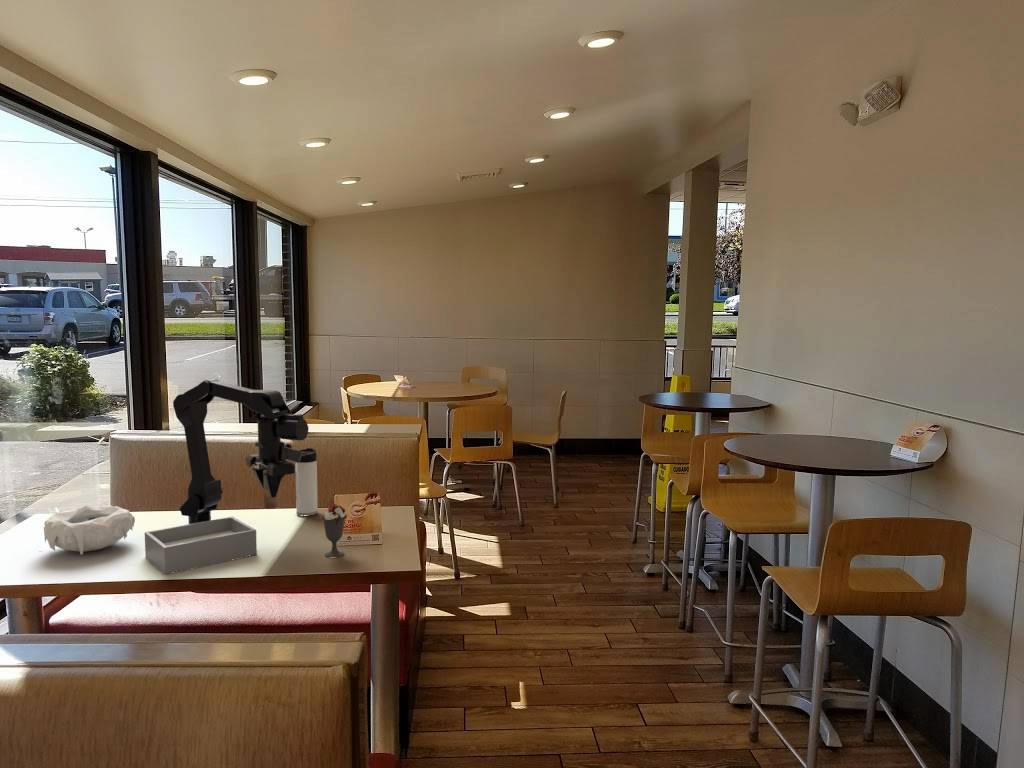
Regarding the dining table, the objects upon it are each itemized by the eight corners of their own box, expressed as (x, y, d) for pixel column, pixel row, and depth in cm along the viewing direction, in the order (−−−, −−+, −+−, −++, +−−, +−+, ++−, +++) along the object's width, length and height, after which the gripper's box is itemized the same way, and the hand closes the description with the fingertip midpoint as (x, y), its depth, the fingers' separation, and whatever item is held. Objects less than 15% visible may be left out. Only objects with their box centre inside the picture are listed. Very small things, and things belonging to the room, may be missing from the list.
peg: (262, 506, 193) (261, 470, 192) (274, 504, 195) (273, 468, 194) (267, 509, 190) (266, 472, 189) (280, 507, 193) (279, 470, 192)
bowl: (33, 549, 187) (31, 511, 186) (118, 532, 202) (116, 497, 201) (57, 568, 173) (55, 528, 172) (147, 549, 188) (145, 511, 187)
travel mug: (321, 511, 225) (319, 448, 223) (313, 517, 218) (312, 452, 216) (301, 510, 225) (300, 447, 224) (293, 516, 219) (291, 451, 217)
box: (145, 557, 181) (144, 532, 181) (233, 539, 196) (232, 516, 195) (165, 574, 169) (164, 547, 169) (256, 554, 184) (256, 529, 183)
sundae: (324, 560, 180) (323, 502, 178) (318, 552, 186) (317, 496, 184) (350, 557, 183) (350, 499, 181) (344, 549, 189) (343, 493, 187)
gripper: (313, 439, 189) (314, 497, 191) (283, 430, 203) (284, 485, 205) (272, 444, 182) (274, 504, 184) (244, 435, 196) (245, 491, 197)
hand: (270, 495), depth 193 cm, fingers closed on peg, 3 cm apart
